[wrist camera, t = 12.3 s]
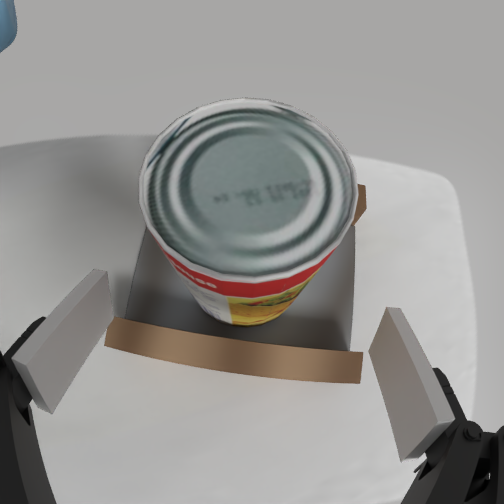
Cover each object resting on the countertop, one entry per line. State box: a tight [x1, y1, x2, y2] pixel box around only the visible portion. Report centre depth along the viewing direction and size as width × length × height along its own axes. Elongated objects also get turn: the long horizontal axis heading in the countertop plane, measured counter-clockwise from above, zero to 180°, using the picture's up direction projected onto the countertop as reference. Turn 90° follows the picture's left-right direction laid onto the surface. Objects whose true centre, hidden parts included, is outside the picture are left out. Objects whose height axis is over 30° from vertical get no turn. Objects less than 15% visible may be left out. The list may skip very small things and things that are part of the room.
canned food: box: [139, 98, 359, 328], centre depth 16 cm, size 8×8×12 cm
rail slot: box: [104, 184, 367, 384], centre depth 21 cm, size 16×14×3 cm
